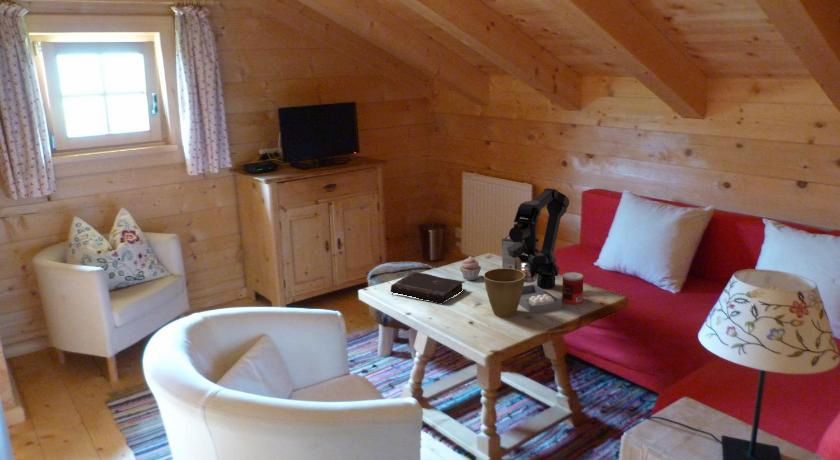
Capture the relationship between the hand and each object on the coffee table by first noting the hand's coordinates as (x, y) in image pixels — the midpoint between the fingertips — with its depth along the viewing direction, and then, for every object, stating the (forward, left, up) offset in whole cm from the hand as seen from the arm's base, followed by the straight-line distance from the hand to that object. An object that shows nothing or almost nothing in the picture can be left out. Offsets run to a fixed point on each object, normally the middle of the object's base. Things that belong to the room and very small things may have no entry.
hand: (528, 274), depth 256 cm
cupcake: (+10, -34, -11) cm, 37 cm away
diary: (+33, -25, -11) cm, 42 cm away
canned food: (-14, +9, -11) cm, 20 cm away
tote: (0, +4, -11) cm, 11 cm away
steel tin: (0, 0, -2) cm, 2 cm away
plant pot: (+15, +10, -11) cm, 21 cm away
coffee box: (-10, -33, -11) cm, 36 cm away
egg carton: (0, +10, -10) cm, 14 cm away
